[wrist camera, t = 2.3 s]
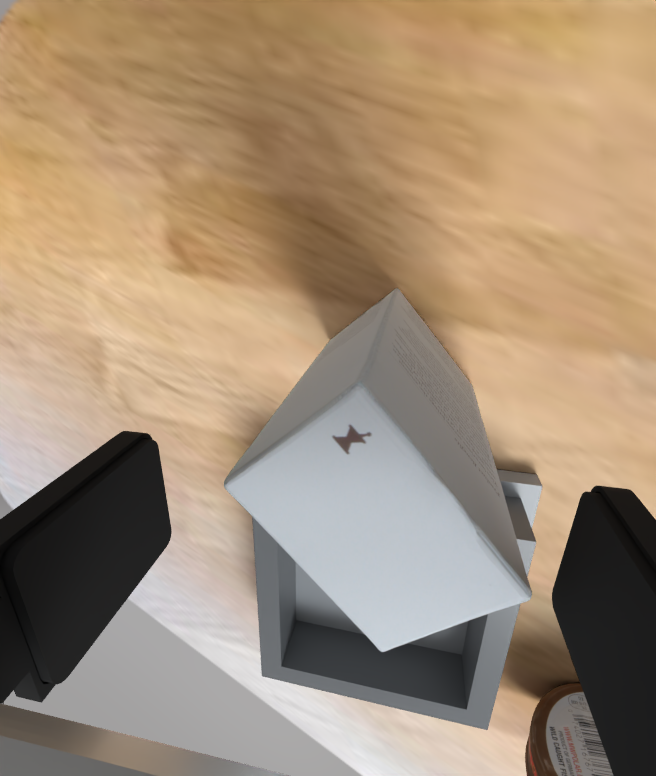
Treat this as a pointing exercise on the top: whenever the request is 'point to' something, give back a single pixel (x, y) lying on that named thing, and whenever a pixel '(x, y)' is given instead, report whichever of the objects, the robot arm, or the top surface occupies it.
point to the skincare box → (387, 483)
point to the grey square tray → (398, 665)
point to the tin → (565, 737)
